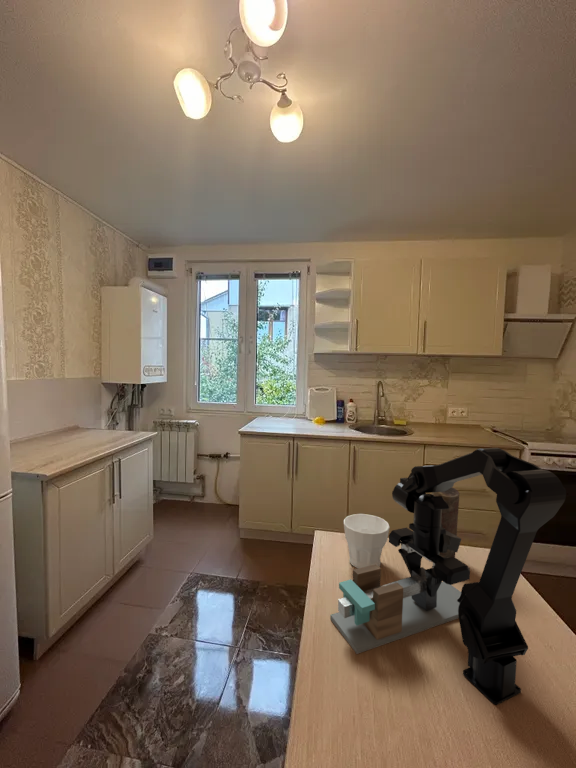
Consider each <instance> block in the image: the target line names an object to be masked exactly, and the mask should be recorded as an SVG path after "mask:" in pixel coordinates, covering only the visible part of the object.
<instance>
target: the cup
mask: <svg viewBox="0 0 576 768" xmlns="http://www.w3.org/2000/svg"><path fill="white" fill-rule="evenodd" d="M343 529H344V530H343V531H344V538H345V540H346V543H347V548H348V555H349V563H350V564H351V565H352V566H353V567H354V568H355V569H358V568H362V567H366V566H370V565H374V564H376V565H377V566H379V567H380V568H381V556H382V552H383V549H384V547H385V546H386V544H387V542H388V539H389V534H390V524H389V522H388V521H387V520H385V519H384V518H381V517H379V516H378V515H372V514H365V513H356V514H355V513H354V514H351V515H347V516H346V517H345V518H344V519H343Z"/></svg>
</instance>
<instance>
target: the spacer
mask: <svg viewBox="0 0 576 768" xmlns="http://www.w3.org/2000/svg"><path fill="white" fill-rule="evenodd" d="M338 588H339V590H340V591H341V592H342V593H343V594H342V596H343V597H342V598H344V597H347V598H348V599H349V600H350V601H351V602H352V603H353V604H354V606H355V624H356V625H360V624H363V623H366V622H369V621H370V611H372V610H375V603H374V602H373V601H372V600H371V599H370V598H369V597H368V596H367V595H366V594H365V593H364V592H363V591H362V590H361V589H360V588H359V587H358V586H357V585H356V584H355V583H354V582H353V579H352V578H351V579H350V578H349V579H347V580H344V581H340V582H339V583H338Z"/></svg>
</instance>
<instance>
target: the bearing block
mask: <svg viewBox="0 0 576 768" xmlns="http://www.w3.org/2000/svg"><path fill="white" fill-rule="evenodd" d="M381 570H382V569H381V566H380V567H379V566H377V565H376V564H374V565H370V566H366V567H362V568H355V569H352V581H353V582H354V583H355V584H356V585H357V586H358V587H359V588H360V589H361V590H362V591H366V590H370V589H373V588H376V587H379V586H381V577H382V576H381V575H382V571H381ZM373 602H374V603H375V610H372V611H370V621H369V622H366V623H363V624H364V625H365V626H366V628H367V629H368V630H369V631H370V632H371V634H372V635H373V636H374V637H375V638H376V639H377V640H379V639H382V638H385V637H388V636H390V635H393V634H396V633H399V632H402V610H403V587H402V586H401V585H400V584H398V583H394V584H391V585H387V586H384V587H380V588H376V589H373Z"/></svg>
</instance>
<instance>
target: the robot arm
mask: <svg viewBox="0 0 576 768" xmlns="http://www.w3.org/2000/svg"><path fill="white" fill-rule="evenodd" d="M478 476H482V477H483V479H484V482H485V485H486V487H488V489H490V490H491V491H492V492H494V493H495V494H496V497H495V502H496V504H497V507H498V510H499V514H500V515H501V516H500V520H499V522H498V525H497V529H496V532H495V534H494V537H493V540H492V544H491V546H490V549H489V552H488V555H487V559H486V560H485V561H486V562H485V564H484V567H483V570H482V573H481V577H480V578H479V581H475V582H469V583H468V582H467V583H464V584H463V585H462V587H461V590H460V592H461V596H460V598H459V599H457V601H458V602H459V603H460V604H459V607H458V616H459V618H458V620H459V628H460V634H461V638H462V644H463V645H464V646H465V647H466V649H467V653H468V655H467V666H468V668H465V669H463V670H462V675H463V676H464V677H465V678H466V679H467V680H468V681H469V682H470V683H471V684H472V685H473V686H474V687H475V688H476V689H477V690H478V691H479V692H481V694H482V695H484V696H485V697H486V698H487V700H489V701H490V702H491V703H492V704H493V705H495V706H496V705H497V706H498V705H500V704H501V703H504V702H506V701H507V700H509V699H511V698H514V697H515V696H518V695H519V694H521V692H522V689H521V687H520V686H519V685H518V684H517V683H516V676H517V675H516V674H517V660H518V659H516V658H515V657H518V656H525V654H526V653H527V652H528V649H529V646H528V644H527V641H526V639H525V638H524V636H523V633H522V631H521V629H520V627H519V625H518V623H517V621H516V617H517V610H516V606H515V603H514V601H513V599H512V597H513V594H514V592H515V590H516V587H517V584H518V581H519V579H520V577H521V573H522V571H523V569H524V566H525V565H526V564H525V563H526V561H527V558H528V555H529V553H530V550H531V548H532V545H533V542H534V540H535V537H536V534H537V532H538V531H539V529H540V528H542V526H544V525H545V524H546V523H548V522H549V521H550V520H552V519H553V518H554V517H555V516H556V515H557V513H558V512H559V510H560V508H562V506H563V505H564V503H565V501H566V498H567V489H566V488H565V487H564V486H563V483H562V481H561V480H560V479H559V476H557V475H556V474H555V473H553V472H552V471H549V470H547V469H542V468H541V467H540V466H538V465H536V464H534V463H532V462H529V461H527V460H524V459H522V458H519V457H518V456H517V457H516V456H514V455H512V454H511V453H509V452H508V451H506V450H504V449H502V448H500V447H484V448H482V447H481V448H477V449H475V450H473V451H472V452H469V453H467V454H464V455H461V456H459V457H457V458H454V459H451V460H448V461H445V462H443V463H439V464H433V465H431V464H430V465H418V466H413V467H412V468H411V470H410V474H409V475H408V477H400V479H399V482H398V483H397V484H395V486H394V488H393V490H392V492H391V495H392V499H393V501H394V502H395V503H396V504H398V505H399V506H401V507H402V508H403V509H405V511H407V512H409V513H411V514H413V522H412V523H411V522H410V523H409V525H408V527H409V528H408V527H402V528H398V529H393V530H391V531H390V532H389V533H388V543H390V544H391V545H392V546H394V547H395V548H398V547H399V546H400V548H398V553H399V554H400V555H401V558H402V560H403V562H404V563H405V566H406V568H407V571H408V573H409V575H410V577H411V576H412V570H414V569H418V568H421V565H422V559H423V558H424V559H425V560H427V561H429V562H431V563H432V566H431V567H429V568H425V569H426V570H425V574H426V580H427V586H428V591H429V595H430V597H434V596H435V594H436V592H437V590H438V588H439V586H440V584H441V582H445V583H446V584H449V585H452V586H453V585H455V584H458V583H461V582H465V581H468V580H470V577H471V570H470V567H469V565H467V564H466V563H464V562H463V561H461V560H459V559H458V558H456V556H455V557H450V558H445V557H441V556H440V555H439V554H440V553H447V549H448V550H452V551H454V552H455V553H458V551H459V548H460V544H461V541H462V538H461V537H459V536H458V535H457V536H456V535H454V534H452V533H450V532H448V531H446V530H445V529H444V528H443V526H442V525H441V518H442V509H449V506H448V504H447V503H446V502H445V501H444V499H443V497H442V496H434V495H432V492H444V491H446V490H448V489H450V488H451V487H452V488H454V486H455V484H456V483H457V482H462V481H464V480H469V479H472V478H475V477H478Z"/></svg>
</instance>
